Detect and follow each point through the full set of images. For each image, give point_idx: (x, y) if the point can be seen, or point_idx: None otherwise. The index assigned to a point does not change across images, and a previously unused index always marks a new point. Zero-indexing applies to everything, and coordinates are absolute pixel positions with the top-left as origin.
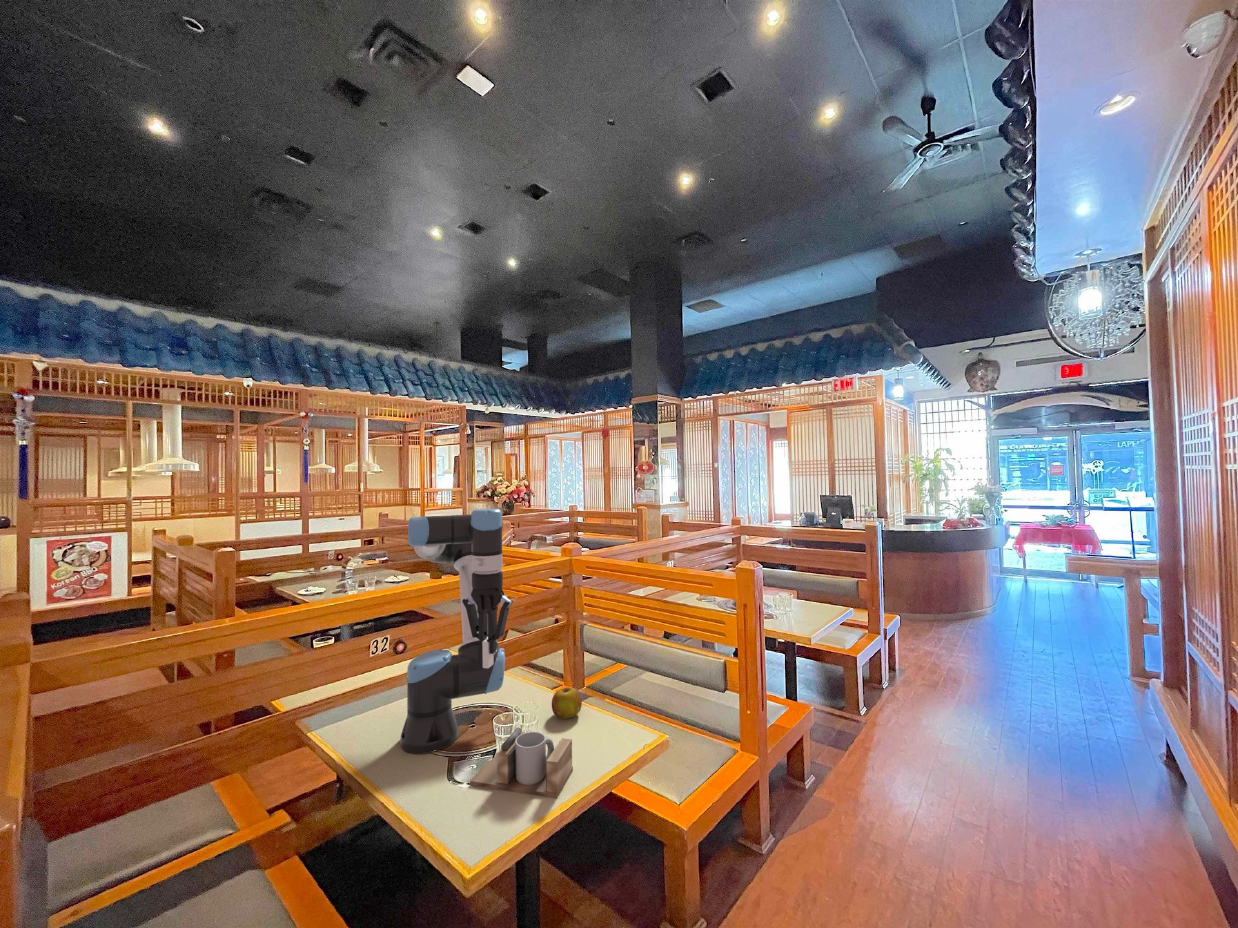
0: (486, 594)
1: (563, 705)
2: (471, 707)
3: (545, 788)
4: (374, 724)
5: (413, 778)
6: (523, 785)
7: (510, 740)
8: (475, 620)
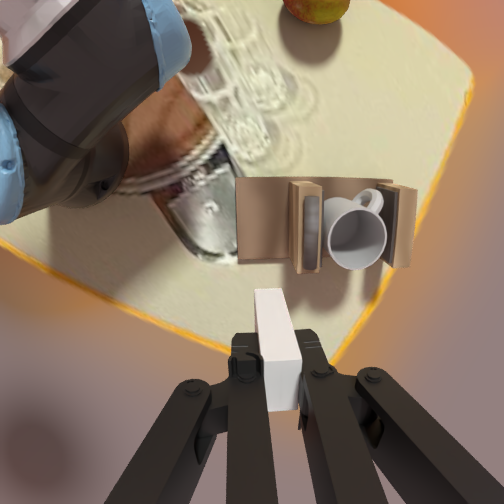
0: None
1: (326, 16)
2: None
3: None
4: None
5: (136, 264)
6: None
7: (316, 249)
8: (181, 491)
